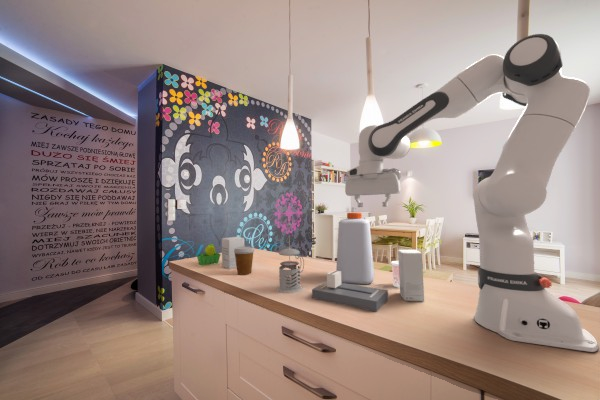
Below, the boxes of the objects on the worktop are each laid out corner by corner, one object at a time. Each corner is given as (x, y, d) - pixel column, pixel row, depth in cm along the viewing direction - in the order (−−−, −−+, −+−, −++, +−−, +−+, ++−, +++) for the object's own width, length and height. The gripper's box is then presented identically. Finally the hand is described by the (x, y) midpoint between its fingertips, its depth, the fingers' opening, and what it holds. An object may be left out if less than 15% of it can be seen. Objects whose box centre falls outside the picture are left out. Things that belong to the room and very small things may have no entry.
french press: (271, 288, 100) (270, 222, 101) (294, 282, 108) (294, 221, 108) (287, 295, 93) (286, 223, 93) (311, 288, 100) (310, 222, 101)
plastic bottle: (373, 285, 102) (371, 213, 103) (334, 282, 107) (333, 213, 107) (374, 275, 116) (373, 212, 117) (340, 273, 121) (339, 212, 122)
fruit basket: (216, 261, 153) (216, 241, 153) (222, 263, 146) (222, 243, 146) (195, 264, 145) (195, 243, 146) (201, 266, 138) (201, 245, 139)
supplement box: (237, 263, 144) (237, 236, 144) (245, 266, 137) (245, 237, 138) (221, 266, 138) (221, 237, 139) (228, 269, 131) (228, 239, 132)
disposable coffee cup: (233, 271, 127) (233, 246, 127) (253, 270, 130) (253, 245, 130) (234, 276, 118) (234, 249, 118) (256, 274, 121) (255, 248, 121)
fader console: (387, 299, 87) (387, 289, 88) (376, 311, 77) (376, 300, 78) (328, 288, 100) (328, 279, 100) (312, 298, 90) (312, 288, 90)
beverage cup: (411, 288, 99) (410, 250, 99) (394, 288, 99) (393, 250, 99) (404, 283, 105) (404, 247, 105) (389, 283, 105) (388, 248, 105)
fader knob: (341, 284, 93) (341, 271, 93) (335, 288, 89) (334, 274, 89) (333, 283, 95) (333, 270, 95) (327, 286, 90) (326, 273, 90)
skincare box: (424, 302, 84) (423, 253, 85) (402, 301, 86) (401, 252, 86) (418, 293, 93) (417, 249, 93) (398, 292, 94) (397, 248, 94)
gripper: (402, 168, 96) (403, 206, 96) (349, 173, 108) (350, 207, 107) (398, 166, 91) (399, 206, 91) (343, 171, 102) (344, 207, 102)
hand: (372, 207), depth 99 cm, fingers open, 8 cm apart
